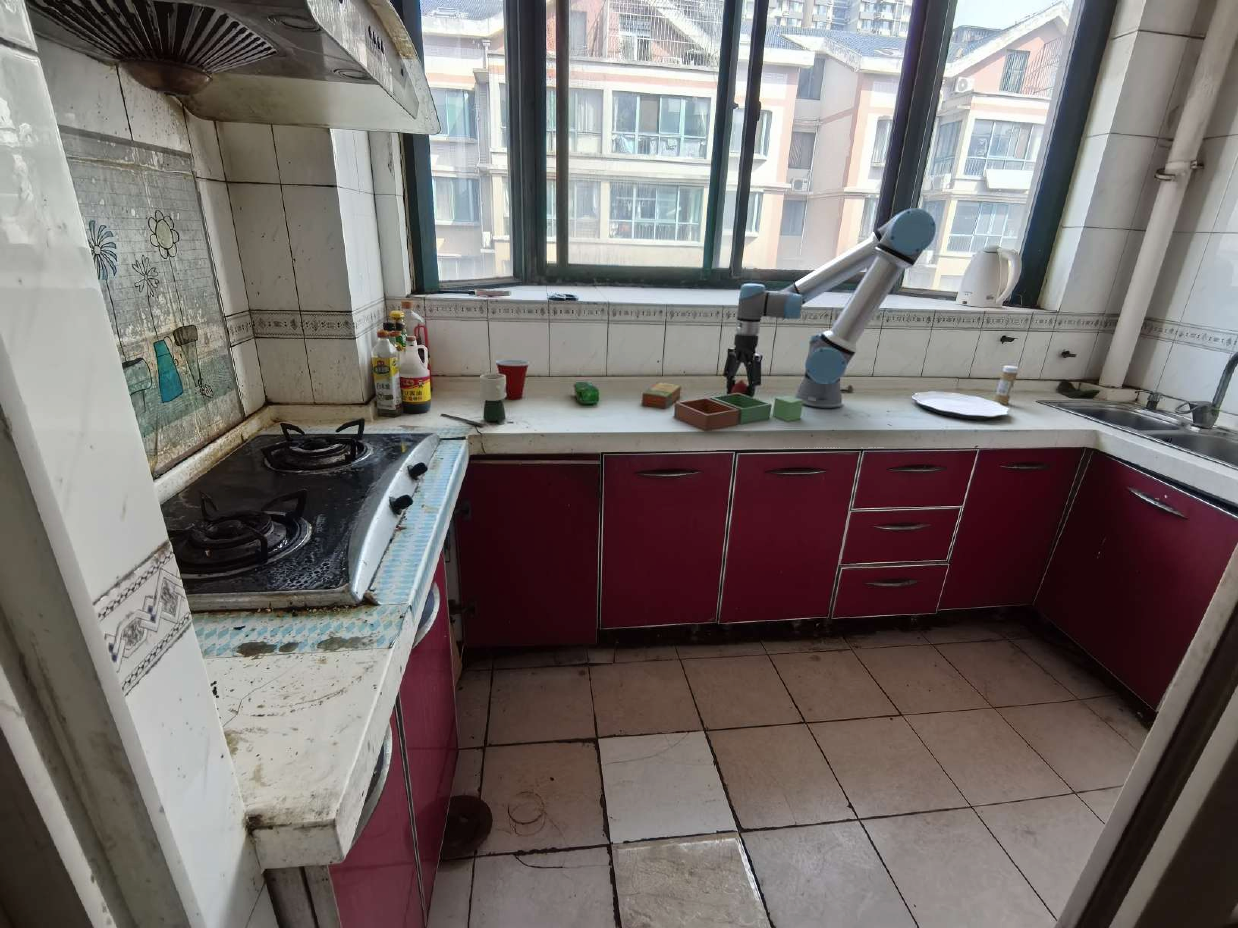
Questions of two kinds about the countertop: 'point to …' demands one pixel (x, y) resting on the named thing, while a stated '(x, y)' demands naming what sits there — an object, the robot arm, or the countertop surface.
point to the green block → (787, 408)
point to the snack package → (586, 392)
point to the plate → (960, 405)
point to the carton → (661, 395)
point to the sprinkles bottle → (1006, 384)
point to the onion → (739, 387)
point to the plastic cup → (513, 376)
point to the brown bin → (706, 413)
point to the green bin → (745, 407)
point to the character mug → (493, 396)
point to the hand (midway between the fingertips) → (738, 401)
